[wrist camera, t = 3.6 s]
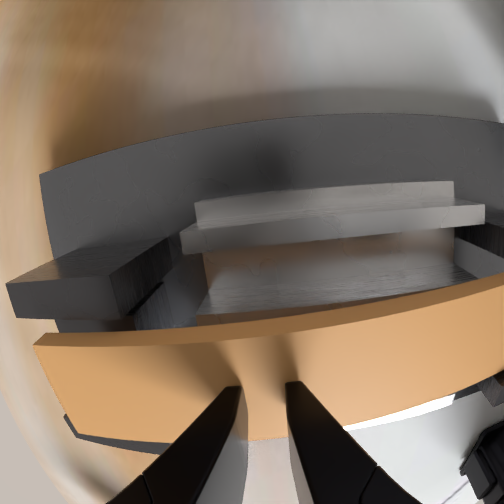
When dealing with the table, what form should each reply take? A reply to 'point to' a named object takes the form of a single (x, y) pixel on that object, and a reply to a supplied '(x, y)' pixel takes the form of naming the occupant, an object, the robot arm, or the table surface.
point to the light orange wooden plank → (280, 364)
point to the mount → (270, 227)
